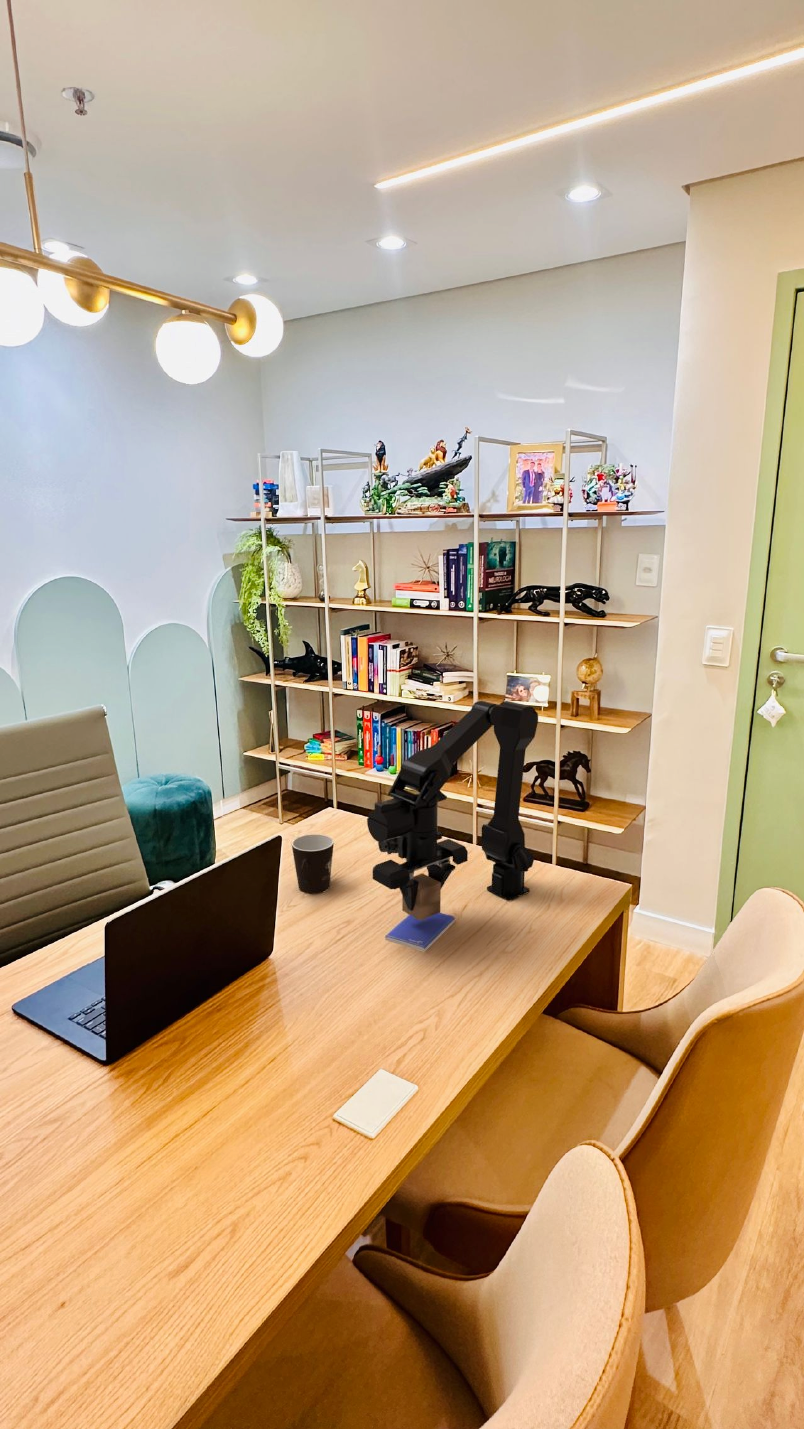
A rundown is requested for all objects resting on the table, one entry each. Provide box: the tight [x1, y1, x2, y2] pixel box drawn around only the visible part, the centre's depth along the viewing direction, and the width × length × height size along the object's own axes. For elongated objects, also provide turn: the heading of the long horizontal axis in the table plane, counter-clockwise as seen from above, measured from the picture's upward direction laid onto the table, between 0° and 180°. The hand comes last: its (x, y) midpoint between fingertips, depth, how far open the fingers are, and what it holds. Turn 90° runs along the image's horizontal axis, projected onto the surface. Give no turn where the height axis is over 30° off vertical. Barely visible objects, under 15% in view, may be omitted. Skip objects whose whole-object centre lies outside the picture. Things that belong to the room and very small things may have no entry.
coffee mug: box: [291, 833, 335, 895], centre depth 159 cm, size 12×9×10 cm
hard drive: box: [384, 912, 456, 953], centre depth 145 cm, size 2×8×12 cm
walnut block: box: [401, 873, 442, 921], centre depth 143 cm, size 5×5×6 cm
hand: (421, 905), depth 144 cm, fingers closed on walnut block, 5 cm apart
